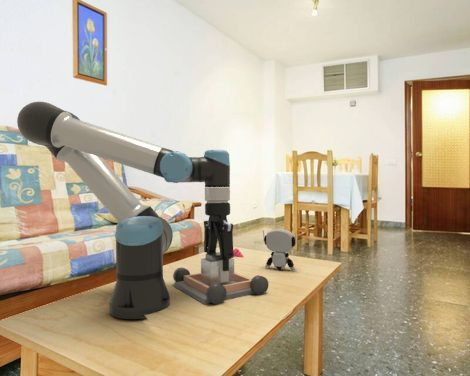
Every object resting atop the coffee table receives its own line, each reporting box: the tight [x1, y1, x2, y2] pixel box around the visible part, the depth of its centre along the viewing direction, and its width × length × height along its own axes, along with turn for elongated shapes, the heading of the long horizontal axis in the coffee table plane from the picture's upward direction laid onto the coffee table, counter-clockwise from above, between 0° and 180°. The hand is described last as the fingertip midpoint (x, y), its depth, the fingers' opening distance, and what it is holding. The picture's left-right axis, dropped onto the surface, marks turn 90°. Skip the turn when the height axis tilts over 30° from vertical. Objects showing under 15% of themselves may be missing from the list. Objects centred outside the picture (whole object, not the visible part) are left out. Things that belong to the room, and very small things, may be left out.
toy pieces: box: [233, 248, 244, 258], centre depth 145 cm, size 12×11×4 cm
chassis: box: [172, 267, 269, 305], centre depth 104 cm, size 20×24×5 cm
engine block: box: [200, 251, 235, 285], centre depth 104 cm, size 8×6×8 cm
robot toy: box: [262, 228, 297, 272], centre depth 126 cm, size 12×4×15 cm, turn 64°
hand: (218, 279), depth 104 cm, fingers open, 6 cm apart
